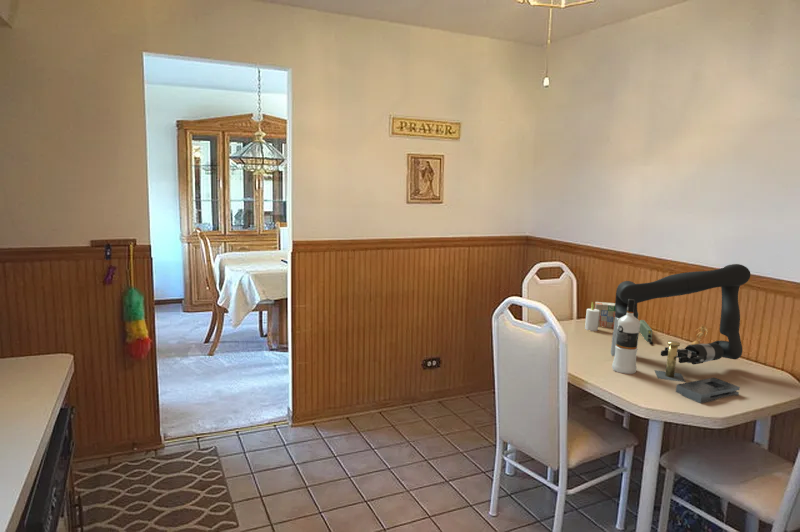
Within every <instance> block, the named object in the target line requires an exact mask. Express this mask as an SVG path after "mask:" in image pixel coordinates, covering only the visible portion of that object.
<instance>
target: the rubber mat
mask: <svg viewBox="0 0 800 532" xmlns="http://www.w3.org/2000/svg"><path fill="white" fill-rule="evenodd" d="M654 373H655V375H656V378H657V379H660V380H667V381H673V382H674V381H675V382H681V383H687V382H686V380H685V378H684V376H683V375H682V373H679V372H675V374H674V377H667V376H665V373H666V370H665V371H664V370H656V369H654Z"/></svg>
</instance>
